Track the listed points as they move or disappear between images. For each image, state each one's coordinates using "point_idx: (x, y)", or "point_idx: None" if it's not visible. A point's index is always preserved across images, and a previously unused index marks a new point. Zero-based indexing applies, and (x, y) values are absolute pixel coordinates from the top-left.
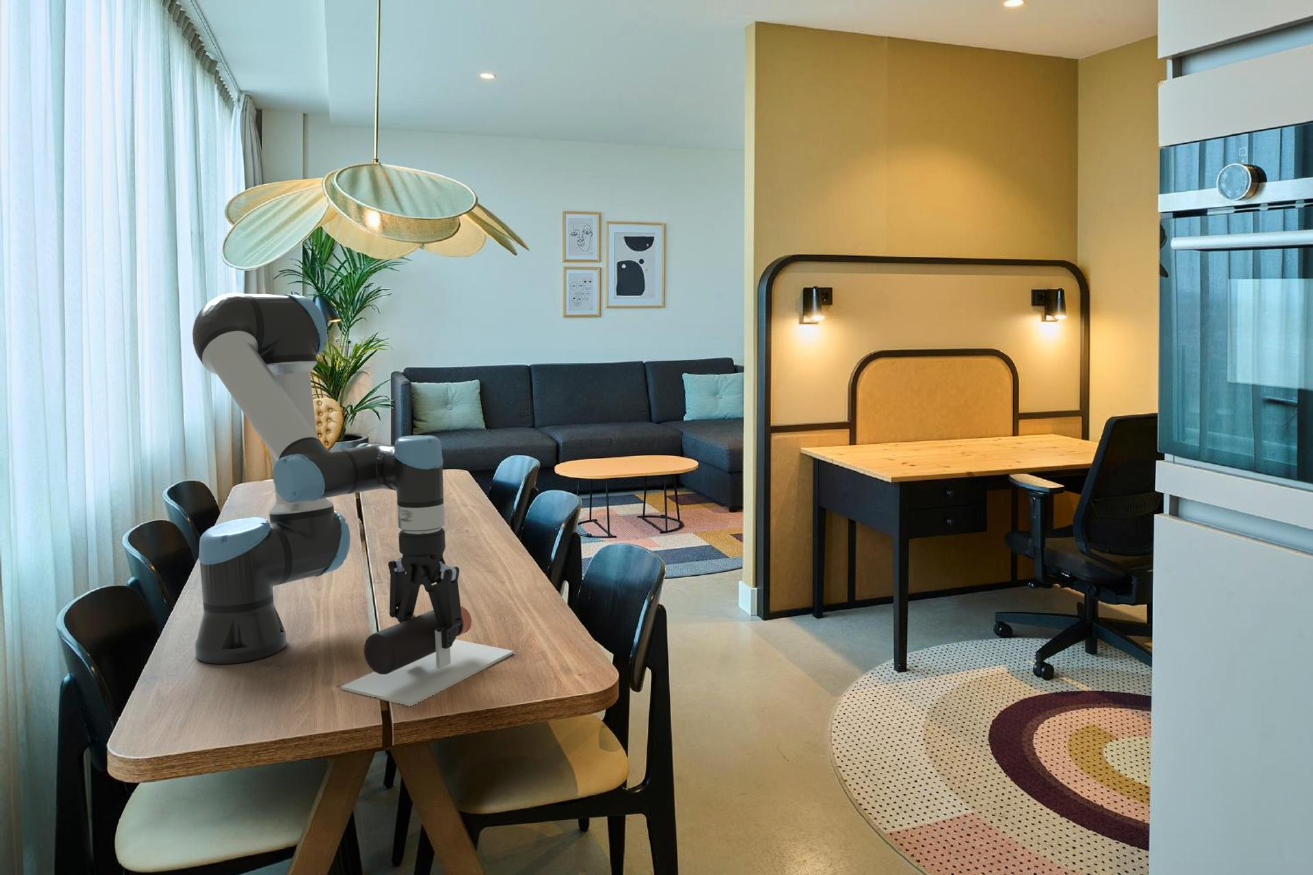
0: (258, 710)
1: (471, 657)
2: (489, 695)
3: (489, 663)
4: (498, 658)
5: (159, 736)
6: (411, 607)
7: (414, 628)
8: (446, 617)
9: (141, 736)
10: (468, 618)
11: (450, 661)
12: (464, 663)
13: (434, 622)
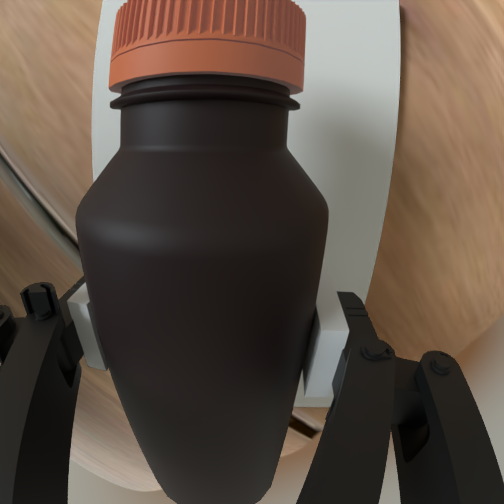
0: (115, 440)
1: (304, 90)
2: (465, 303)
3: (396, 119)
4: (399, 70)
5: (109, 472)
6: (54, 390)
7: (251, 467)
8: (397, 454)
9: (98, 471)
10: (301, 34)
11: None
12: (317, 151)
13: (271, 390)
